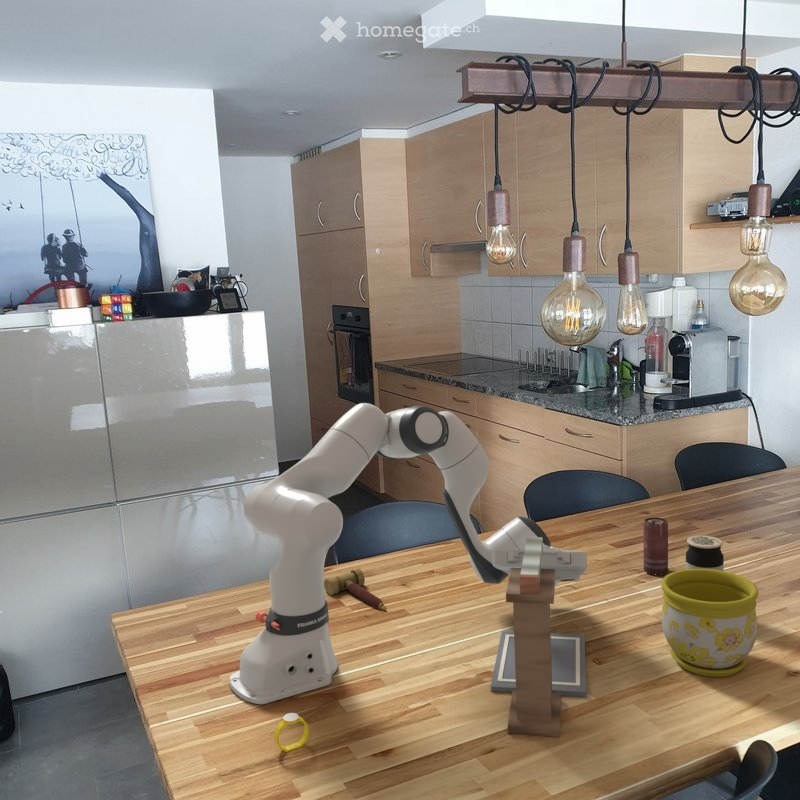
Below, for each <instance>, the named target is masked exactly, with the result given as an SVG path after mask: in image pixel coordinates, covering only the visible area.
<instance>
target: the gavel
mask: <svg viewBox="0 0 800 800" xmlns="http://www.w3.org/2000/svg"><path fill="white" fill-rule="evenodd" d="M365 582H366V581H365V575H364V571H363V570H362V569H360V568H355V569H352V570H351V571H350V572H346V573H343V574H340V575H337V576H335V577H334V576H330V577H326V578H324V589H325V593H326V592H327V593H326V594H329V595H330V596H334V595H337V594H339V593H340V592H342V591H345V590H348V591H349V592H351V594H353V595H354V596H356V597H357V598H359V599H360V600H362V601H363V602H365V603H366V604H368V605H370V606H371V607H373V608H374V609H377V608H378V610H382V611H385V610H387V607H386V605H385V604H384V602H383V601H382V599H380V598H379V597H378V596H376V595H375V594H374V593H373V594H372V593H371V592H370V591H368V590H366V589H365V588H363V587H362V586H364V585H365Z"/></svg>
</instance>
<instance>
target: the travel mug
mask: <svg viewBox="0 0 800 800" xmlns="http://www.w3.org/2000/svg"><path fill="white" fill-rule="evenodd" d="M686 543H687V545H688V549H687V550H686V552H685V570H686V569H713V570H720V571H724V566H725V565H724V563H725V562H724V561H725V559H724V557H725V556H724V554H723V552H722V551H721V548H722V546H723V543H724V542H723V540H721V539H720V538H718V537H715V536H710V535H693V536H690V537H688V538H687V539H686Z"/></svg>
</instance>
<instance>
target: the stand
mask: <svg viewBox="0 0 800 800" xmlns="http://www.w3.org/2000/svg"><path fill="white" fill-rule="evenodd" d="M520 574H521V568H511V571H510V574H509V576H508V577H509V578H508V581H507V586H506V591H505V603H512V608H513V610H512V611H513V616H512V617H513V631H514V645H515V675H516V690H513V692H511V700H510V707H509V713H508V714H509V715H508V722H507V734H510V735H512V734H513V735H524V736H526V735H527V736H536V737H537V736H539V737H554V738H561V721H562V720H561V717H562V716H561V715H562V696H561V693H552V665H551V633H552V632H551V605H554V604H555V592H556V591H555V590H556V589H555V588H556V586H555V569H541V575H540V584H539V594H528V593H520V578H519V576H520Z"/></svg>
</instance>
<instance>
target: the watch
mask: <svg viewBox="0 0 800 800" xmlns="http://www.w3.org/2000/svg"><path fill="white" fill-rule="evenodd" d="M298 722H301V723H303V727H304V730H303V734H302V736H301V737H300V738H299V740H298V741H297V742H294V743H292V744H289V745H286V746H284V745H282V744H280V734H281V732H282V730H283V729H284V728H285V727H286V725H289V726H290V725H291V726H292V725H296V724H297V723H298ZM273 734H274V742H275V743H276V745H277V747H278V748H279V749H280V750H281V751H282V752H285V753H288V752H291V751H293V750H296V749H299V748H302V747H303V746H304V745H305V743H306V742H307V741H308V738H309V735H310V728H309V725H308V723H307V722H306V720H304V718H303V717H302V716H301V715H299V714H298V713H296V712H288V713H286V714H285V715H283V717H282V720H281V721H280V722H279V723H278V725H277V726H276V728H275V731H274V733H273Z"/></svg>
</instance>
